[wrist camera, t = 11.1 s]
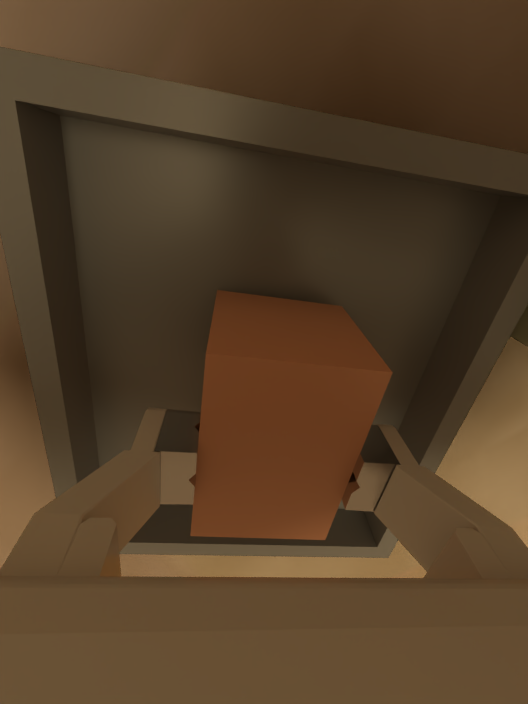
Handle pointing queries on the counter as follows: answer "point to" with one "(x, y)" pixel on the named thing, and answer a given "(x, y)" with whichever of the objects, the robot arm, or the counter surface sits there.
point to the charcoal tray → (242, 261)
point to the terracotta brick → (281, 416)
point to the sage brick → (522, 328)
